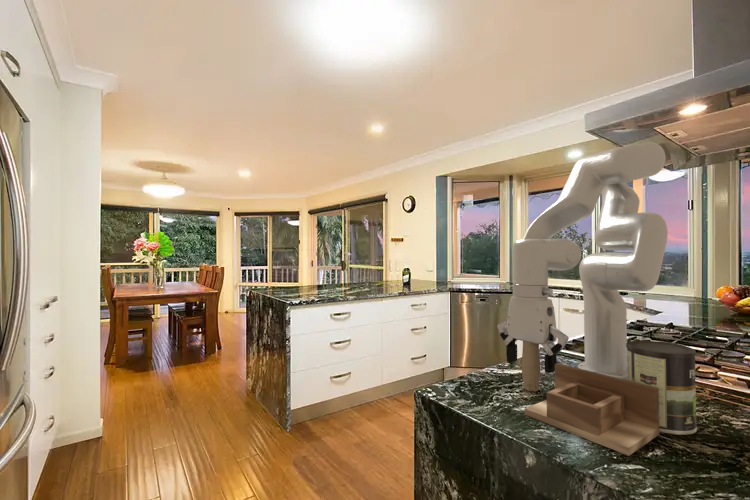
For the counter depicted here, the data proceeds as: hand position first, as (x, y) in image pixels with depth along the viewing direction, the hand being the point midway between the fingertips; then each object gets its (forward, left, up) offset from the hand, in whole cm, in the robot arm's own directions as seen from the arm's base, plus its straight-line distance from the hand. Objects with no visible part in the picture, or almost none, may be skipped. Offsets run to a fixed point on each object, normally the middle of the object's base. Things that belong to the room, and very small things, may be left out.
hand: (530, 366), depth 85 cm
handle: (0, 0, -6) cm, 6 cm away
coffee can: (-5, +23, -6) cm, 25 cm away
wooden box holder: (+7, +16, -5) cm, 18 cm away
